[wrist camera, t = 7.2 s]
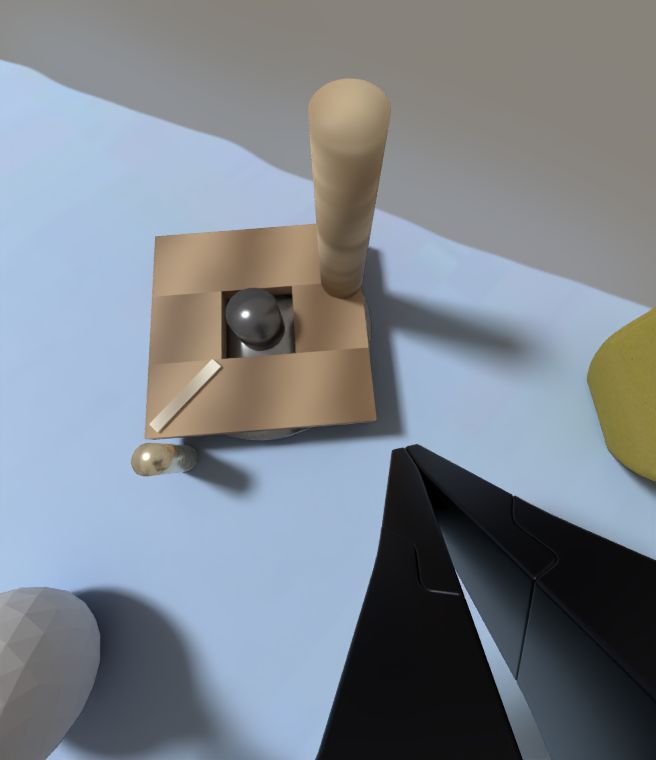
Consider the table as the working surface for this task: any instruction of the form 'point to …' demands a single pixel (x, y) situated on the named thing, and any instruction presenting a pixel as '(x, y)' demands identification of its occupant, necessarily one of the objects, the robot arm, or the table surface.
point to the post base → (244, 339)
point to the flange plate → (277, 276)
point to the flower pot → (628, 394)
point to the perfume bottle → (43, 668)
